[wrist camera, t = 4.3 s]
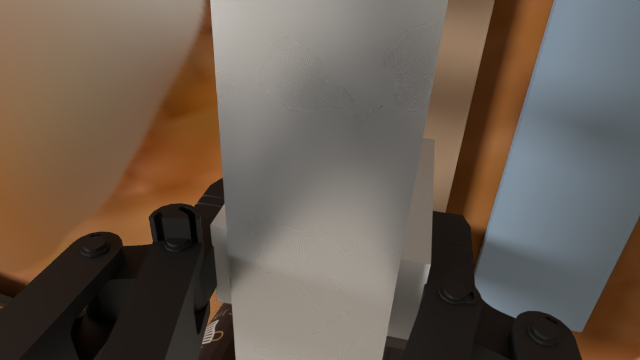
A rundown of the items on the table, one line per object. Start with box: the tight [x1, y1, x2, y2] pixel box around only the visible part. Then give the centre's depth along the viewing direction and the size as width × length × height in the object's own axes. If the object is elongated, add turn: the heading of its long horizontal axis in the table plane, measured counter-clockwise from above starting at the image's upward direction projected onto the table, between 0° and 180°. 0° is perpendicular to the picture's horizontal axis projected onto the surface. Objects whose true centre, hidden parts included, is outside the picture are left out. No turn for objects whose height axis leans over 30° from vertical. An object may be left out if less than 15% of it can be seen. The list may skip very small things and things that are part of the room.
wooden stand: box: [382, 0, 495, 360], centre depth 22 cm, size 30×10×14 cm, turn 177°
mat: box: [474, 0, 640, 332], centre depth 26 cm, size 34×8×1 cm, turn 177°
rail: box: [210, 0, 448, 360], centre depth 14 cm, size 32×4×5 cm, turn 177°
